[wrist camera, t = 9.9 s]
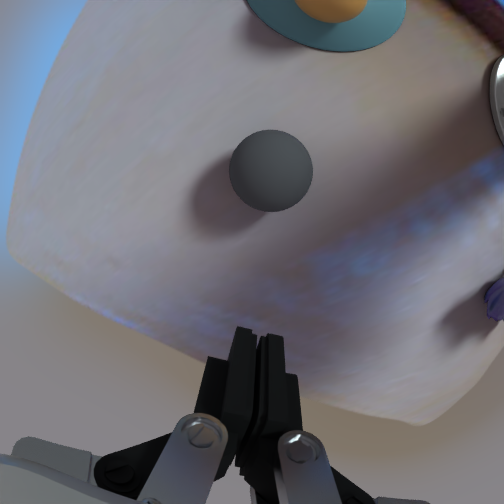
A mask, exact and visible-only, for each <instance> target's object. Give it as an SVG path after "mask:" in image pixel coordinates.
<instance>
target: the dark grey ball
mask: <svg viewBox="0 0 504 504" xmlns="http://www.w3.org/2000/svg"><path fill="white" fill-rule="evenodd" d="M229 174H230V180H231V183H232V186H233V188H234V190H235V192H236V193H237V195H238V196H239V197H240V198H241V199H242V200H243V201H244V202H245V203H246V204H248V205H249V206H251V207H253V208H255V209H258V210H261V211H267V212H277V211H282V210H285V209H288V208H290V207H292V206H294V205H295V204H297V203H298V202H299V201H300V200H301V199H302V198H303V197H304V196H305V194H306V193H307V191H308V189H309V187H310V184H311V181H312V175H313V167H312V161H311V158H310V155H309V153H308V151H307V150H306V148H305V147H304V145H303V144H302V143H301V142H300V141H299V140H298V139H297V138H295V137H294V136H292V135H290V134H288V133H286V132H283V131H278V130H263V131H259V132H256V133H253V134H251V135H250V136H248V137H246V138H245V139H244V140H243V141H242V142H241V143H240V144H239V145H238V146H237V148H236V149H235V151H234V153H233V155H232V158H231V161H230V167H229Z"/></svg>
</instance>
